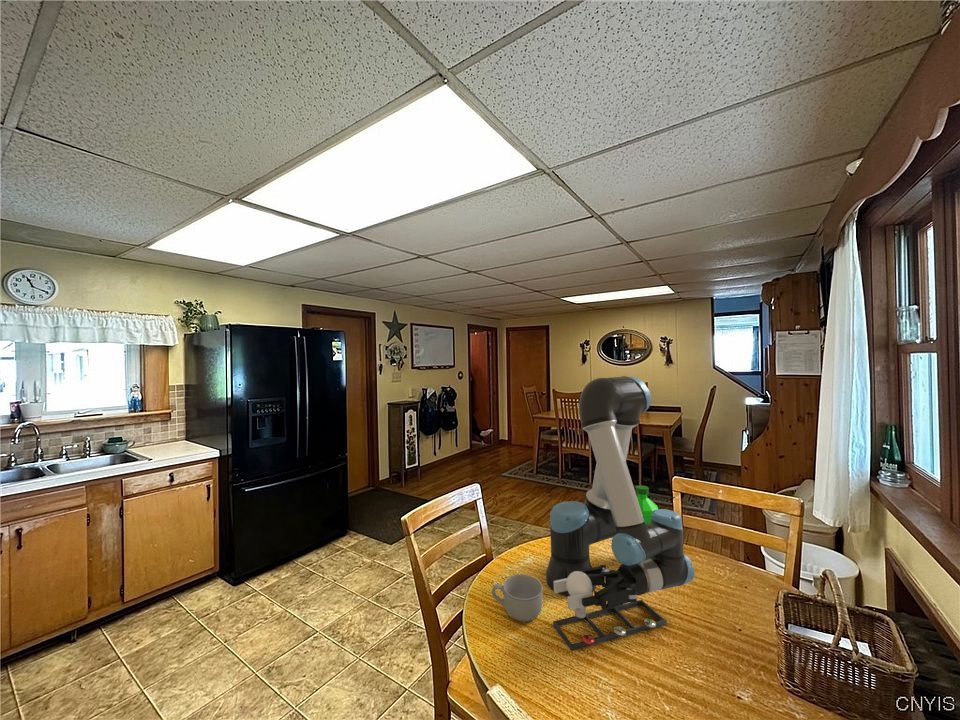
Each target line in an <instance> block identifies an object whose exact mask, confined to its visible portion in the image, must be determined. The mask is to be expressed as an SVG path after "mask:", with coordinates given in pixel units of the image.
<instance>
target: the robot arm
mask: <svg viewBox="0 0 960 720" xmlns="http://www.w3.org/2000/svg"><path fill="white" fill-rule="evenodd" d="M651 396H652V395H651V392H650V389H649V388H648V387H647V385H646V383H645V382H644V381H643V380H642V379H640V378H638V377H635V376H627V375H625V376H624V375H623V376H611V377H598V378H595V379H593V380H590V381H589V382H588V383H587V384H585V386H584V387H583V389H582V391H581V393H580V397H579V401H578V412H579V413H578V414H579V419H580V423H581V427H582V430H583V431H585V432H586V433H587V435H588V438H589V442H590V445H591V449H592V452H593V455H594V459H595V462H596V465H595V470H594V475H593V482H592V488H591V489H589V490H587V491H586V495H585V500H584V502H581V501H576V500H570V501H567V500H566V501H561V502H559V503H557V504H555V505H553V507H552V508H551V510H550V514H549V515H550V517H549V526H550V527H549V530H550V558H549V561H548V564H547V569H546V570H545V582H546V585H547V586H548V587H549V589H551V590H552V592H554V593H555V594H559V595H561V596H566V597H567V609H568V610H569V611H571V610H572V611H573V610H575V609H576V608H580V607H586V608H587V607H592V606H596V607H601V609H600V610H602V609H603V610H607V609H610V608H613V607H616V606H619V605H622V604H627V603H631V602H637V601H638V596H641V595H645V594H649V593H652V592H657V591H661V590H665V589H666V590H667V589H670V588H674V587H675V588H676V587H682V586H684V585H686V584H689V583H691V582H693V580H694V578H695V574H696V572H695V571H696V570H695V567H693V562H692V560H691V559H690V557H689V556H687V555H686V554H685V553H684V552H685V551H684V528H683V520H682V516H681V515H680V514H679V513H678V512H676V511H674V510H670V509H665V508H661V509H660V508H658V509H657V510H654V511H653V512H652V517H651V521H652V522H651V523H648V524H645V521H644V518H643V515H642V512H641V509H640V506H639V502H638V499H637V493H636V489H635V487H634V484H633V481H632V477H631V474H630V470H629V468H628V465H627V458H628V452H629V447H630V442H631V436H632V430H633V428H635V427H637V426H638V425H639V423H640V417H641V415H642V414H643V413H646V411H647V410H648V409H649V408H650V405H651V402H652V397H651ZM608 539H611V551H612V554H613V555H614V556H615V558H616V559H617V561H618V562H620V564H621V565H619V567H618V569H610V570H609V569H607V565H606V564H600V565H599V566H593V565H592V562H591V560H590V559H591V558H590V546H591V545H592V544H595V543H600V542H602V541H606V540H608ZM574 571H581V572H583V573H585V574H586V575H587V576H588V577H589V578H590V580H591V582H592V592H591V591H590V592H586V593H582V594H577V595H573V596H570V594H569V593H568V591H567V587H566V580H567V578H568V576H569V575H570V574H571V573H572V572H574ZM598 586H599V587H600V586H601V587H602V588H601V589H600V590H598V591H597V590H596V588H597V587H598Z"/></svg>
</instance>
